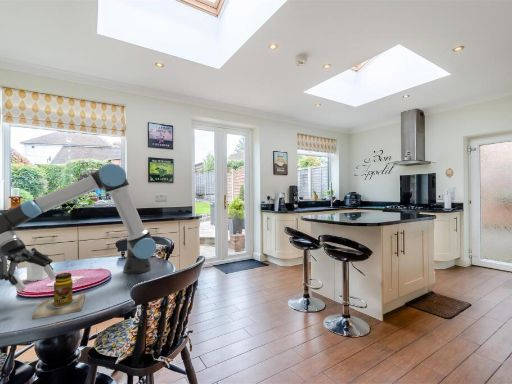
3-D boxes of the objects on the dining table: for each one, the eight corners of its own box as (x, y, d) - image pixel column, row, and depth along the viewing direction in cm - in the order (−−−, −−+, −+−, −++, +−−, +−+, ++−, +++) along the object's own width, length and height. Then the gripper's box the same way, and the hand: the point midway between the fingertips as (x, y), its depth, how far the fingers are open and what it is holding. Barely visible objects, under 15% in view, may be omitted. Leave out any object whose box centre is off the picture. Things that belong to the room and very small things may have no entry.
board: (85, 296, 116) (85, 293, 116) (81, 310, 102) (81, 307, 102) (42, 303, 108) (42, 300, 108) (32, 319, 95) (32, 315, 95)
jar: (25, 282, 132) (25, 259, 132) (28, 277, 139) (28, 255, 139) (47, 279, 137) (48, 256, 137) (49, 275, 143) (49, 253, 143)
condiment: (60, 308, 101) (60, 278, 101) (45, 305, 103) (45, 275, 103) (78, 301, 108) (78, 272, 108) (63, 298, 110) (63, 270, 110)
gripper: (33, 243, 122) (60, 278, 121) (-32, 257, 97) (0, 301, 96) (43, 233, 121) (70, 268, 120) (-20, 245, 97) (13, 289, 95)
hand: (39, 283), depth 108 cm, fingers open, 13 cm apart
